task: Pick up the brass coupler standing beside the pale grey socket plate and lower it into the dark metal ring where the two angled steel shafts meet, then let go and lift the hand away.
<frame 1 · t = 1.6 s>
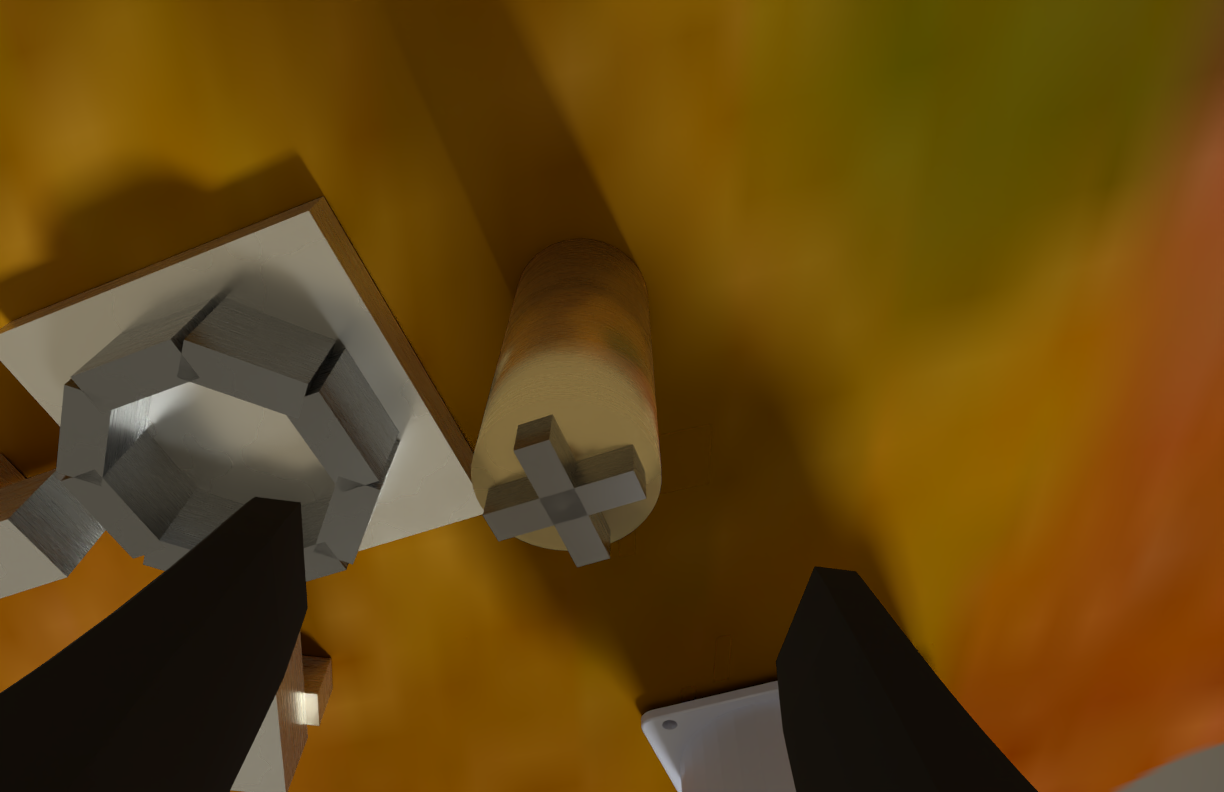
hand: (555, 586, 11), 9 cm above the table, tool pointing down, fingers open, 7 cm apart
coupling socket: (267, 410, 21), on the table
coupler: (582, 301, 19), on the table
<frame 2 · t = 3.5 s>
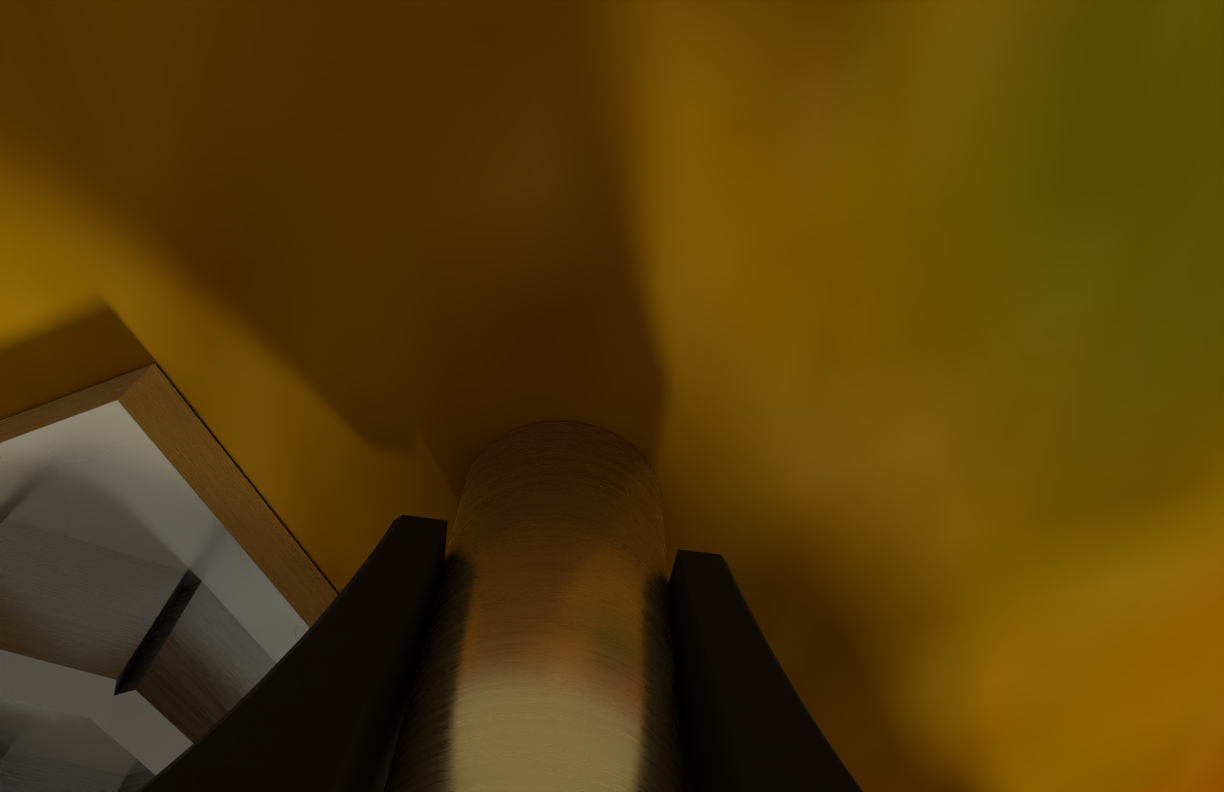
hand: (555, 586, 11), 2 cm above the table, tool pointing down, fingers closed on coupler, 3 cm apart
coupling socket: (110, 637, 14), on the table
coupler: (562, 503, 13), on the table, touching gripper
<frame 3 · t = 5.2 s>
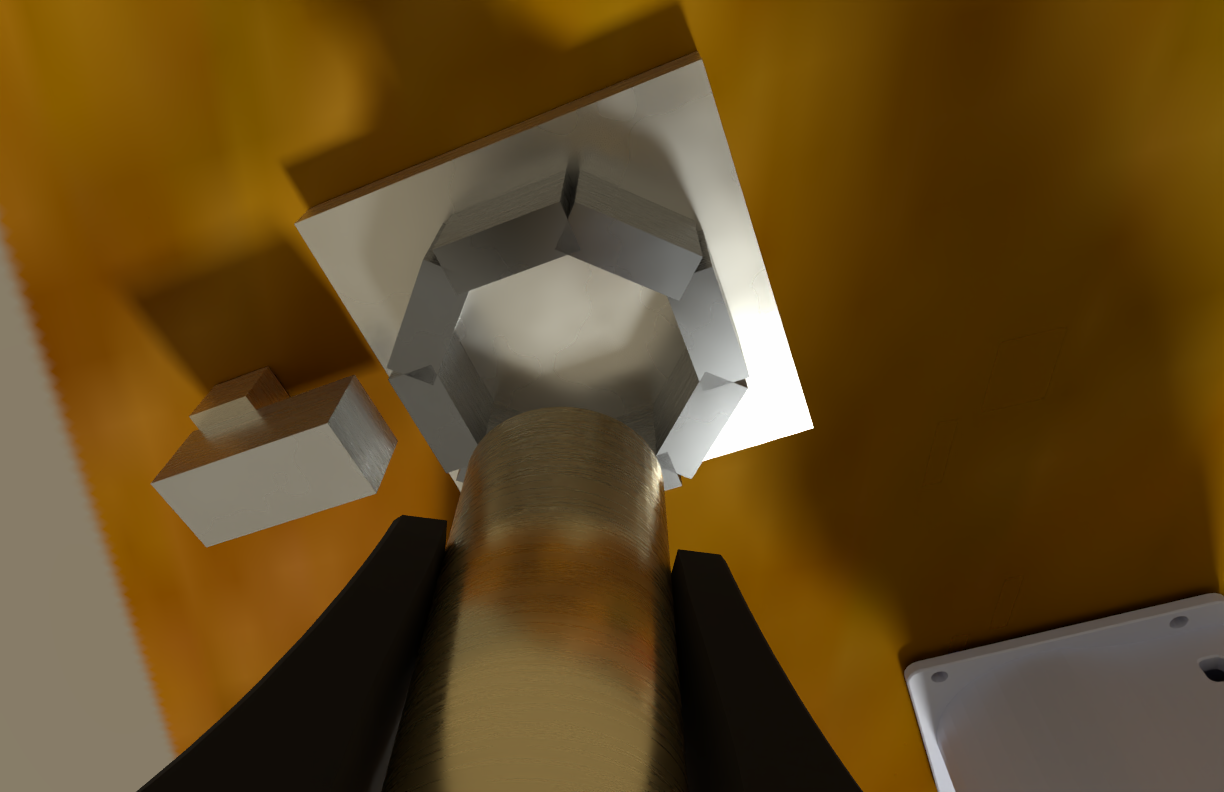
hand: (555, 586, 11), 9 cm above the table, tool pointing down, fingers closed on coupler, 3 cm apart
coupling socket: (575, 314, 19), on the table
coupler: (564, 489, 13), point 7 cm above the table, touching gripper
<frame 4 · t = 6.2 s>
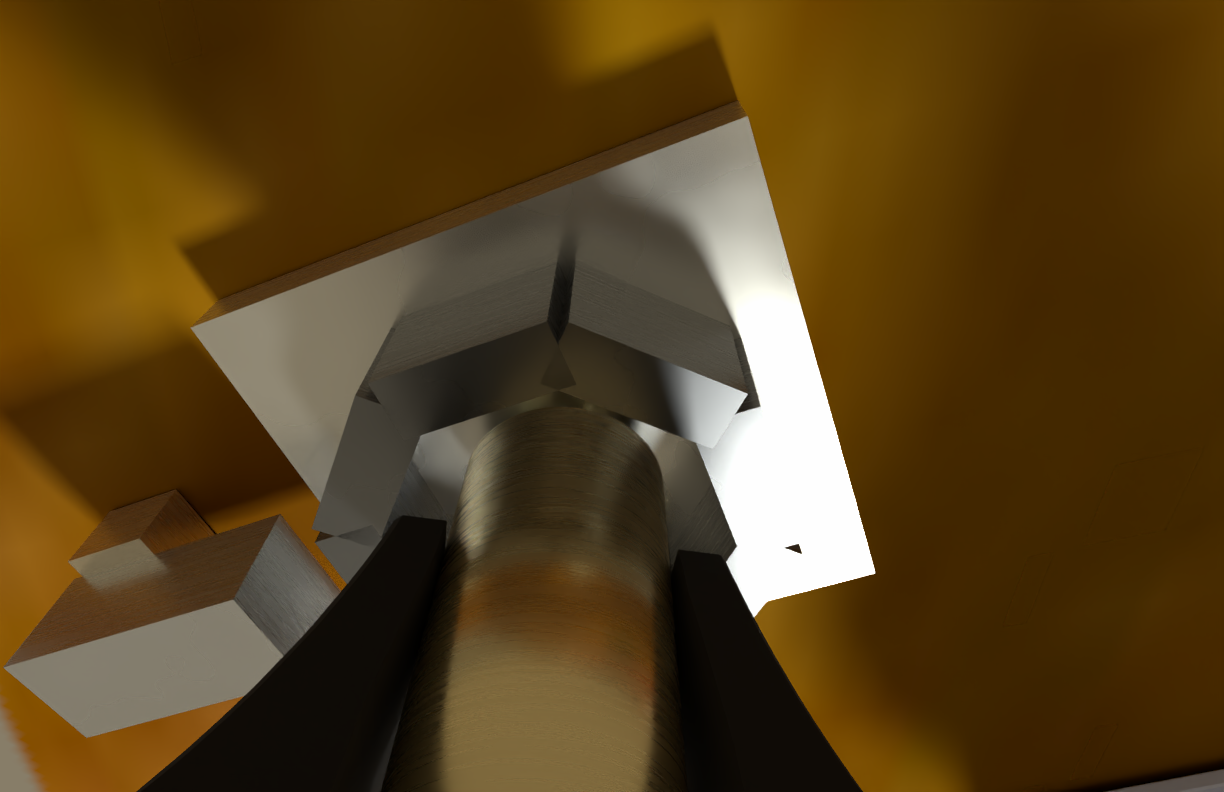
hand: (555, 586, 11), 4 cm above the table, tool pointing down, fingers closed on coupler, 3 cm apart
coupling socket: (569, 429, 15), on the table
coupler: (564, 489, 13), point 2 cm above the table, touching gripper
when the fingers open (4 cm above the table, at t = 6.9 s): coupler stays where it is, resting on coupling socket.
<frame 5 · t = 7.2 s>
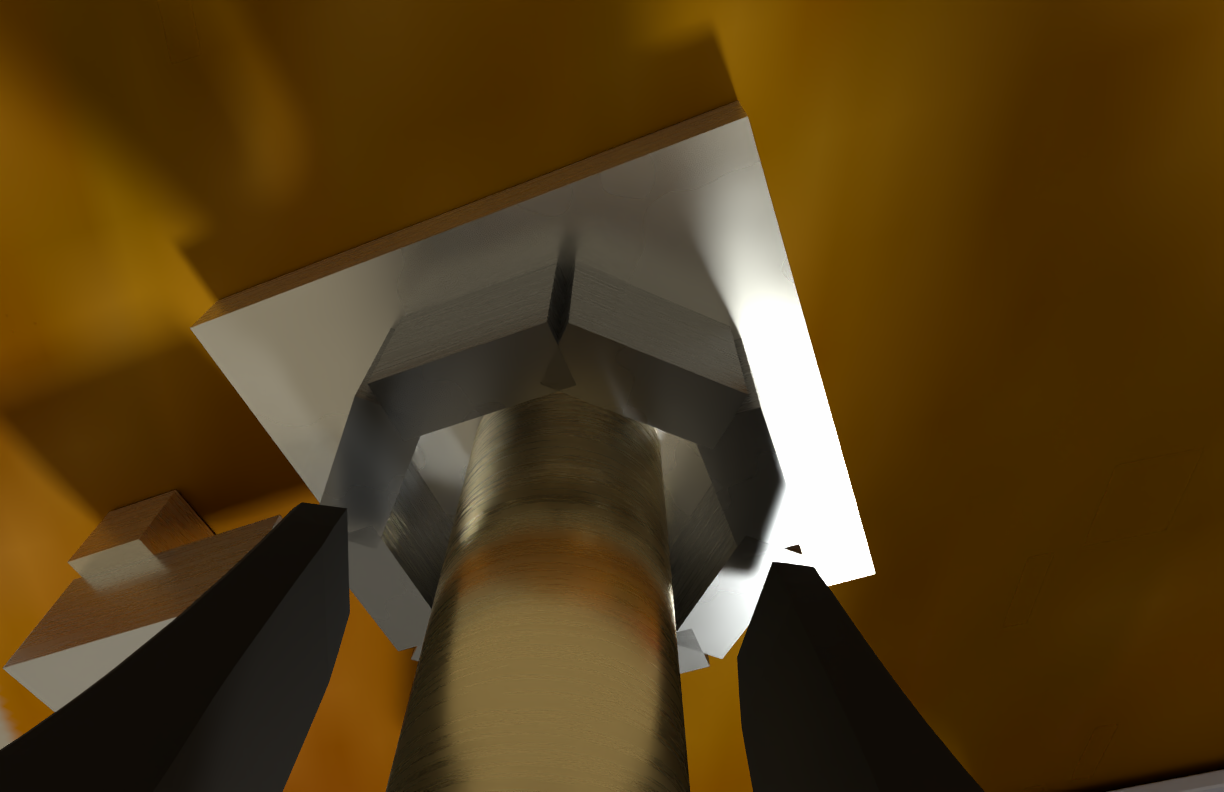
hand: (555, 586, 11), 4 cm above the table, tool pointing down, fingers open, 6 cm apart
coupling socket: (569, 430, 15), on the table
coupler: (567, 454, 14), point 1 cm above the table, touching coupling socket
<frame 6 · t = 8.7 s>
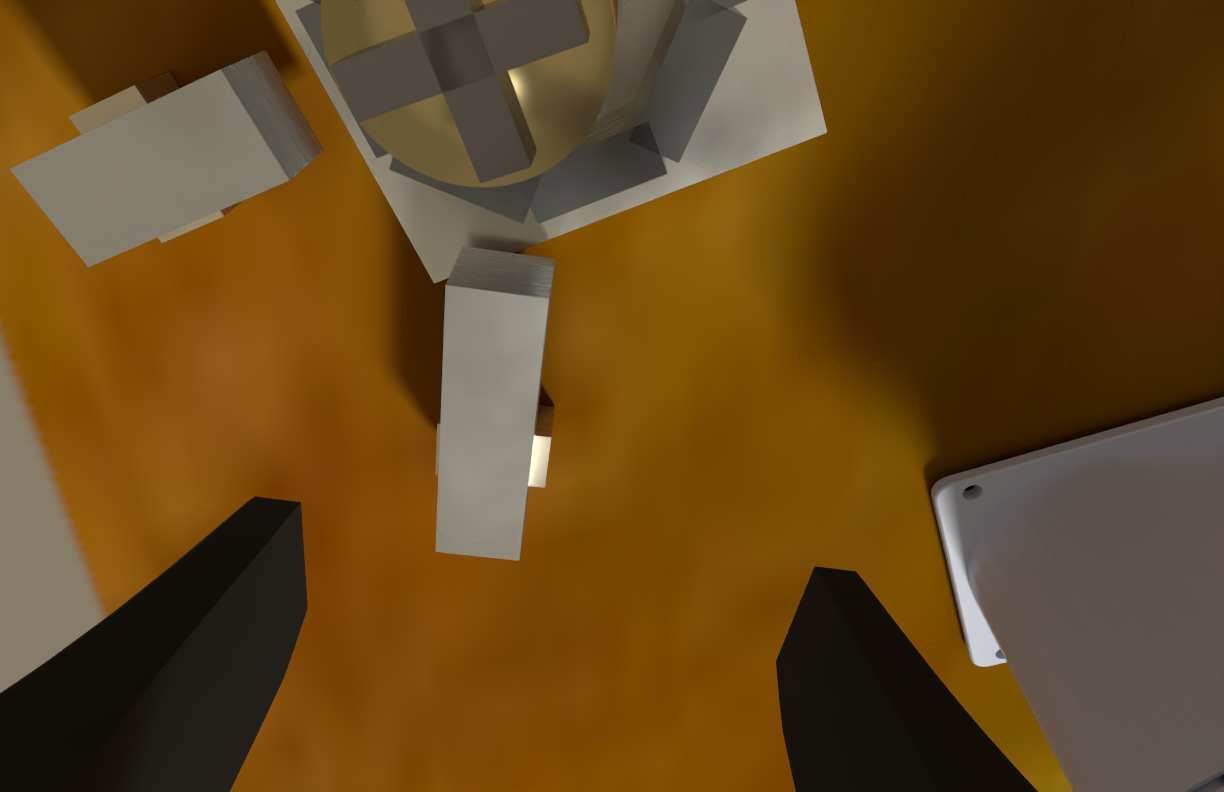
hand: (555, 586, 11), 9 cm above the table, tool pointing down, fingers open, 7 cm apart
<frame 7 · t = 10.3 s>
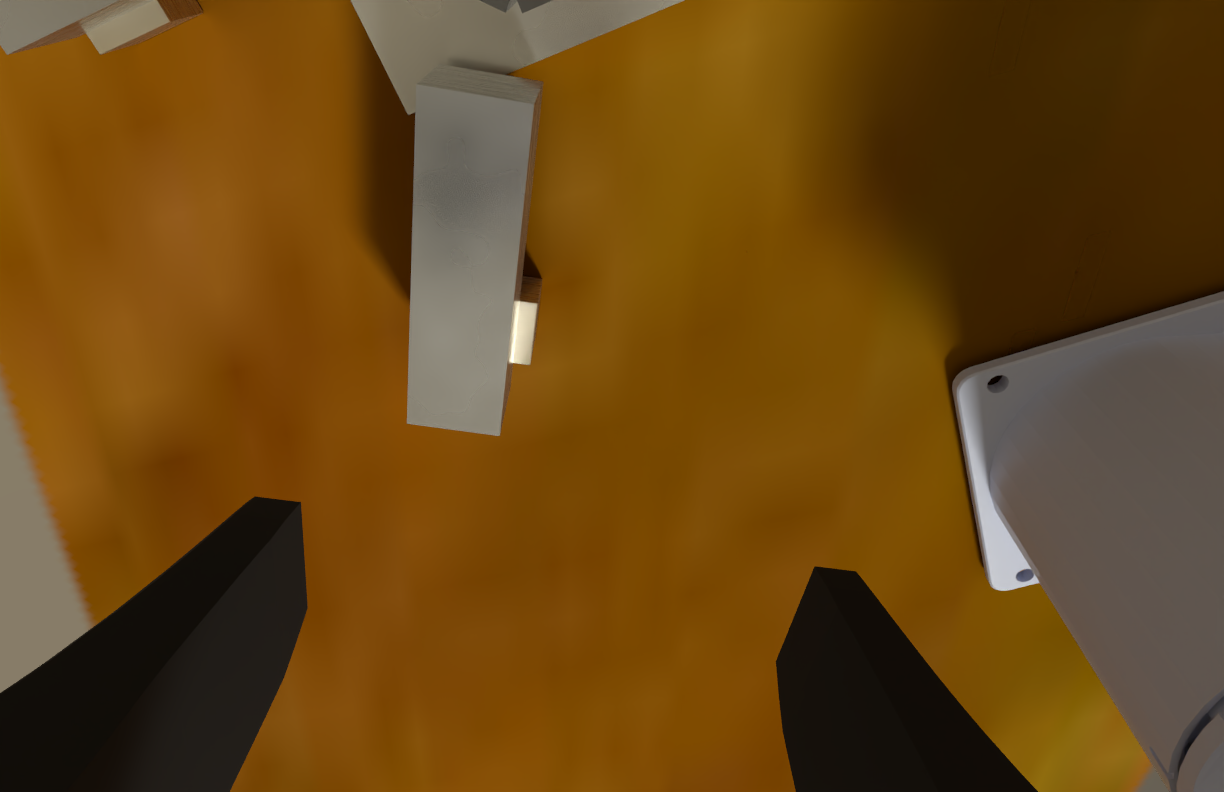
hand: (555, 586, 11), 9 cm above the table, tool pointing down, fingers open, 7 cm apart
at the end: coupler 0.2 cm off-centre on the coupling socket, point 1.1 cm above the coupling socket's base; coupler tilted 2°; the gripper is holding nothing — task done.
